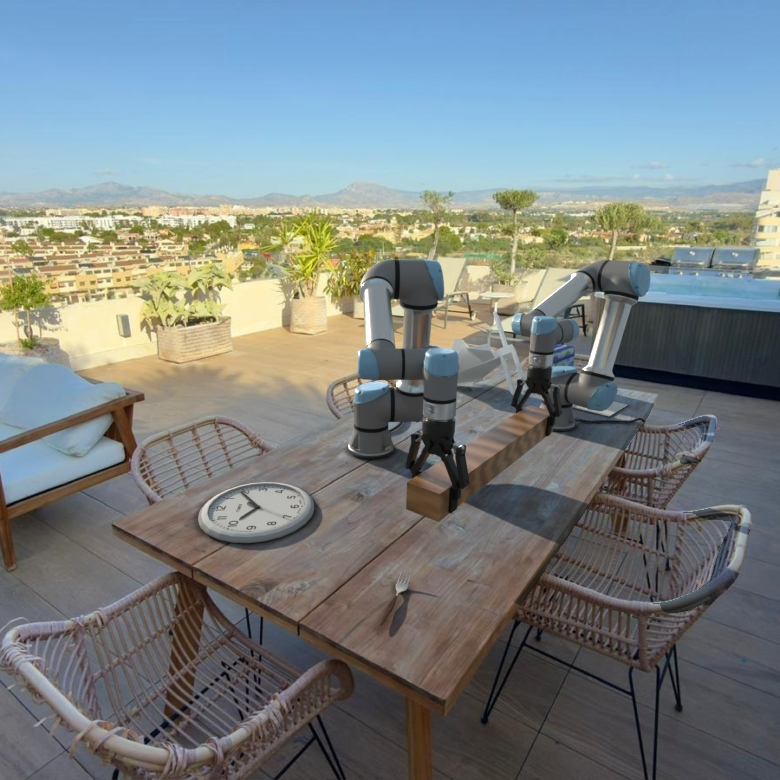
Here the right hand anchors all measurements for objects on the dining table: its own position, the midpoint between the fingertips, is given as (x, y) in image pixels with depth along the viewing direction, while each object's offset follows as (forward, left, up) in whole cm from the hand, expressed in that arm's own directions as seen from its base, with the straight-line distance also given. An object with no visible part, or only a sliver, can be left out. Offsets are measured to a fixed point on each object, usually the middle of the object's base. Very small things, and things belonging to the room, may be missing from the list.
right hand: (533, 431), depth 173 cm
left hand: (+31, +53, 0) cm, 61 cm away
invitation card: (-38, -58, -9) cm, 70 cm away
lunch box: (-20, -83, -9) cm, 86 cm away
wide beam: (+15, +26, -1) cm, 31 cm away
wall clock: (+78, +47, -9) cm, 91 cm away
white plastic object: (+14, -70, -9) cm, 72 cm away
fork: (+38, +77, -9) cm, 86 cm away
